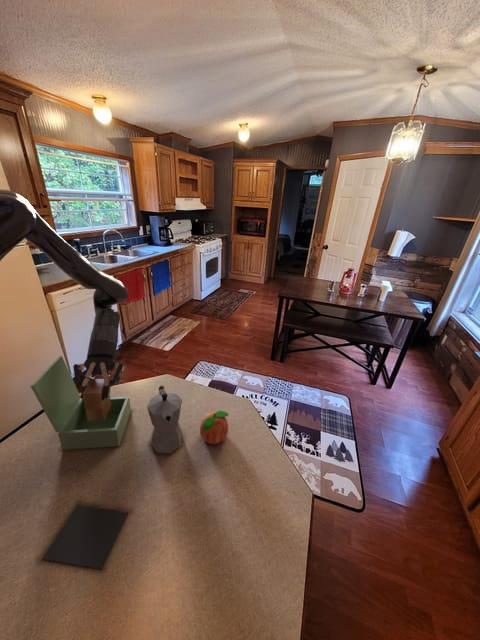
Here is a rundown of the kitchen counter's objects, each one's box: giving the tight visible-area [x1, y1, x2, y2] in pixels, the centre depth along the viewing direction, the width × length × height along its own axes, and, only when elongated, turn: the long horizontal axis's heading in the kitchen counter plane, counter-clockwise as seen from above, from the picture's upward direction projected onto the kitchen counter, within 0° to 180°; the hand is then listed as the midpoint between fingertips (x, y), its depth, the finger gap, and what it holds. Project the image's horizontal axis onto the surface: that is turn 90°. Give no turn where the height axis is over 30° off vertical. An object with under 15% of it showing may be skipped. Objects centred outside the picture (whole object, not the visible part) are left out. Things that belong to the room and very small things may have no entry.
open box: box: [57, 396, 132, 450], centre depth 77 cm, size 15×14×7 cm
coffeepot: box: [146, 385, 183, 454], centre depth 73 cm, size 15×9×18 cm, turn 23°
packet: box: [82, 378, 111, 422], centre depth 73 cm, size 4×6×10 cm
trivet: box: [41, 504, 129, 571], centre depth 53 cm, size 12×10×1 cm
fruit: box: [199, 410, 229, 445], centre depth 77 cm, size 9×10×10 cm
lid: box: [30, 355, 81, 433], centre depth 71 cm, size 16×14×1 cm
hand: (94, 400), depth 71 cm, fingers closed on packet, 4 cm apart
